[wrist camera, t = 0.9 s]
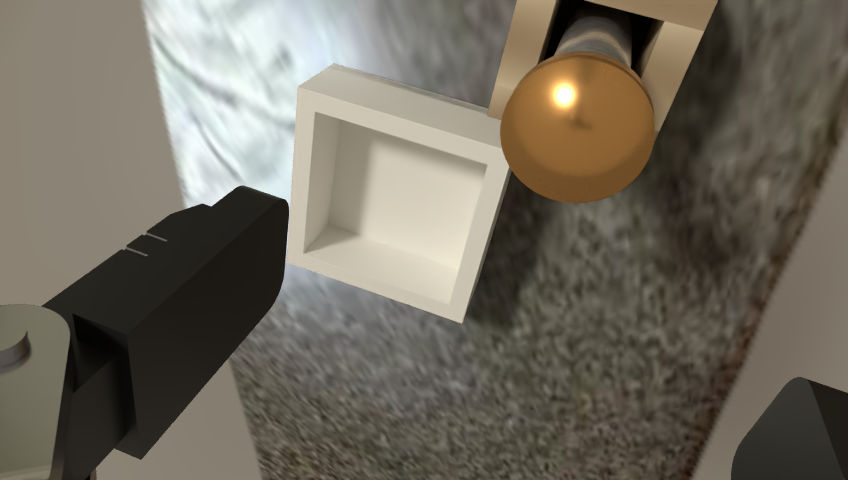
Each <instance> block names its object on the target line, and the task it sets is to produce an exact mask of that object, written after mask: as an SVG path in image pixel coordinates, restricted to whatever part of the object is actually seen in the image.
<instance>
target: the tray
mask: <svg viewBox="0 0 848 480" xmlns="http://www.w3.org/2000/svg"><path fill="white" fill-rule="evenodd" d="M488 110H489V109H488V108H485V107H481V106H478V105H474V104H471V103H468V102H464V101H461V100H457V99H454V98H451V97H447V96H444V95H440V94H437V93H434V92H430V91H427V90H423V89H420V88H417V87H413V86H410V85H406V84H403V83H400V82H396V81H393V80H389V79H386V78H383V77H379V76H376V75H372V74H369V73H366V72H362V71H359V70H355V69H352V68H349V67H345V66H342V65H338V64H335V63H334V64H332V65H331V66H329V67H328V68H326V69H324V70H323V71H321V72H320V73H318V74H317V75H315V76H314V77H312V78H311V79H309V80H307V81H306V82H304V83H303V84H301V85H300V86H298V92H297V108H296V124H295V140H294V155H293V171H292V187H291V203H290V219H289V235H288V250H287V262H288V263H291V264H294V265H297V266H299V267H302V268H305V269H308V270H311V271H314V272H317V273H319V274H322V275H325V276H328V277H331V278H334V279H337V280H339V281H342V282H345V283H348V284H351V285H354V286H357V287H359V288H362V289H365V290H368V291H371V292H374V293H376V294H379V295H382V296H385V297H388V298H391V299H394V300H396V301H399V302H402V303H405V304H408V305H411V306H414V307H416V308H419V309H422V310H425V311H428V312H431V313H434V314H436V315H439V316H442V317H445V318H448V319H451V320H454V321H456V322H459V323H462V322H463V319H464V317H465V314H466V312H467V309H468V306H469V304H470V301H471V299H472V296H473V293H474V291H475V288H476V286H477V283H478V280H479V277H480V274H481V271H482V267H483V264H484V261H485V257H486V254H487V251H488V248H489V244H490V241H491V238H492V235H493V231H494V228H495V225H496V221H497V218H498V215H499V212H500V208H501V205H502V202H503V199H504V195H505V192H506V189H507V185H508V182H509V179H510V176H511V172H512V170H511V168H510V167H509V165H508V163H507V161H506V159H505V156H504V154H503V151H502V146H501V140H500V125H501V120H499V119H495V118H492V117H488V116H487V114H488Z"/></svg>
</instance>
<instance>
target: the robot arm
mask: <svg viewBox="0 0 848 480" xmlns="http://www.w3.org/2000/svg"><path fill="white" fill-rule="evenodd" d="M288 220H289V206H288V203H287V201H286V200H285V199H282V198H279V197H276V196H273V195H270V194H267V193H264V192H261V191H258V190H255V189H252V188H249V187H246V186H239V187H237V188H235V189H234V190H233V191H231V192H230V193H229V194H227V195H226V196H225V197H223V198H222V199H221V200H219V201H218V202H217V203H216V204H214V205H213V206H212V207H211V206H208V205H205V204H200V205H197V206H194V207H191V208H188V209H185V210H182V211H179V212H176V213H173V214H170V215H169V216H167V217H166V218H165V219H163V220H162V221H161V222H159V223H158V224H156V225H155V226H153V227H152V228H150V229H149V230H148V231H147V233H146V235H145V236H144V235H141V236H139V237H138V238H137V239H135V240H134V241H132V242H131V243H129V244H128V245H127V247H126V249H125V250H120V251H118V252H117V253H115V254H114V255H113V256H111V257H110V258H108V259H107V260H106V261H104V262H103V263H101V264H100V265H99V266H97V267H96V268H94V269H93V270H92V271H90V272H89V273H88V274H86V275H85V276H83V277H82V278H80V279H79V280H78V281H76V282H75V283H73V284H72V285H70V286H69V287H68V288H66V289H65V290H63V291H62V292H61V293H59V294H58V295H57V296H55V297H54V298H52V299H51V300H49V301H48V302H47V303H45V304H44V305H42V306H35V305H28V304H8V305H0V480H96V479H97V478H96V467H97V466H98V465H99V464H100V463H101V462H102V460H103V459H104V458H105V457H106V456H107V455H108V454H109V453H110V452H111V451H112V450H113V449H114V448H115V449H117V450H119V451H122V452H124V453H127V454H129V455H131V456H133V457H136V458H138V459H140V460H141V459H142V458H143V457H144V456H145V455H146V454H147V452H148V451H149V450H150V449H151V447H153V445H154V444H155V443H156V442H157V441H158V440H159V438H160V437H161V436H162V435H163V434H164V433H165V431H166V430H167V429H168V428H169V427H170V425H171V424H172V423H173V422H174V421H175V420H176V419H177V417H178V416H179V415H180V414H181V413H182V412H183V410H184V409H185V408H186V407H187V406H188V404H189V403H190V402H191V401H192V400H193V399H194V397H195V396H196V395H197V394H198V393H199V392H200V390H201V389H202V388H203V387H204V385H205V384H206V383H207V382H208V381H209V380H210V379H211V378H212V376H213V375H214V374H215V373H216V372H217V371H218V369H219V368H220V367H221V366H222V365H223V363H224V362H225V361H226V360H227V359H228V358H229V357H230V355H231V354H232V353H233V352H234V351H235V350H236V348H237V347H238V346H239V345H240V344H241V343H242V341H243V340H244V339H245V338H246V337H247V335H248V334H249V333H250V332H251V331H252V330H253V328H254V327H255V326H256V325H257V324H258V323H259V321H260V320H261V319H262V318H263V317H264V316H265V314H266V313H267V312H268V311H269V310H270V308H271V307H272V305H273V304H274V302H275V300H276V298H277V296H278V294H279V292H280V289H281V286H282V282H283V278H284V270H285V257H286V245H287V232H288ZM731 480H848V393H846V392H843V391H840V390H837V389H834V388H831V387H829V386H826V385H823V384H819V383H817V382H814V381H811V380H808V379H805V378H802V377H797V378H794V379H792V380H790V381H789V382H788V383H787V384H786V385H785V386H784V387H783V389H782V390H781V391H780V392H779V394H778V395H777V396H776V398H775V399H774V400H773V401H772V403H771V404H770V405H769V407H768V408H767V409H766V410H765V412H764V413H763V414H762V416H761V417H760V418H759V419H758V421H757V422H756V423H755V425H754V426H753V427H752V428H751V430H750V431H749V432H748V433H747V435H746V436H745V437H744V439H743V440H742V441H741V443H740V444H739V446H738V449H737V451H736V453H735V456H734V460H733V464H732V471H731Z"/></svg>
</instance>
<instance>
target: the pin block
mask: <svg viewBox="0 0 848 480" xmlns="http://www.w3.org/2000/svg"><path fill="white" fill-rule="evenodd" d="M561 1H562V0H517V3H516V7H515V11H514V15H513V19H512V22H511V26H510V30H509V34H508V38H507V41H506V45H505V49H504V53H503V57H502V61H501V64H500V68H499V72H498V76H497V80H496V83H495V87H494V91H493V95H492V99H491V103H490V106H489V110H488V114H487V116H488V117H492V118H495V119H499V120H501V119H502V115H503V112H504V109H505V106H506V104H507V102H508V100H509V98H510V97H511V95H512V93H513V91H514V89H515V88H516V86H517V85H518V83H519V82H520V80H521V79H522V78H523V77H524V76H525V75H526V74H527V73H528V72H529V71H530V70H531V69H532V68H533V67H535V66H536V65H538V64H539V63H541V62H542V61H543V60H544V57H545V54H546V51H547V47H548V44H549V41H550V37H551V34H552V31H553V27H554V24H555V21H556V18H557V14H558V11H559V8H560V4H561ZM586 1H589V2H593V3H597V4H601V5H605V6H609V7H612V8H616V9H620V10H624V11H628V12H632V13H635V14H639V15H643V16H647V17H651V18H654V19H653V21H652V24H651V26H650V29H649V32H648V34H647V37H646V39H645V42H644V44H643V47H642V49H641V52H640V54H639V57H638V59H637V62H636V64H635V67H634V70H633V71H634V72H635V73H636V74H637V75H638V76H639V78H640V79H641V80H642V81H643V83H644V85H645V86H646V88H647V90H648V92H649V95H650V97H651V100H652V104H653V108H654V121H655V139H654V142H655V140H656V138H657V135H658V133H659V131H660V129H661V127H662V124H663V122H664V120H665V118H666V115H667V113H668V111H669V109H670V106H671V104H672V102H673V100H674V98H675V95H676V93H677V91H678V89H679V86H680V84H681V82H682V80H683V77H684V75H685V73H686V71H687V69H688V66H689V64H690V62H691V60H692V57H693V55H694V53H695V51H696V48H697V46H698V44H699V42H700V40H701V37H702V35H703V33H704V31H705V28H706V26H707V24H708V22H709V19H710V17H711V15H712V13H713V11H714V8H715V6H716V4H717V2H718V0H586Z"/></svg>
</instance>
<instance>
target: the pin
mask: <svg viewBox="0 0 848 480" xmlns="http://www.w3.org/2000/svg"><path fill="white" fill-rule="evenodd" d="M631 48H632V25H631V21H630V18H629V16H628V15H627V13H626V12H625V11H624V10H620V9H616V8H612V7H609V6H605V5H601V4H597V3H593V2H591V3H588V4H586V5H584V6H582V7H581V8H580V9H578V10H577V11H576V12H575V13H574V14H573V16H572V17H571V19H570V21H569V23H568V25H567V27H566V30H565V32H564V34H563V36H562V39H561V41H560V43H559V45H558V48H557V50H556V52H555V54H554V56H553V57H551V58H548V59H546V60H544V61H542V62H541V63H539V64H538V65H536V66H535V67H533V68H532V69H531V70H530V71H529V72H528V73H527V74H526V75H525V76H524V77H523V78H522V79H521V80H520V82H519V83H518V85H517V86H516V88H515V89H514V91H513V93H512V95H511V97H510V98H509V100H508V102H507V104H506V106H505V109H504V112H503V115H502V119H501V125H500V140H501V146H502V151H503V154H504V156H505V159H506V161H507V163H508V165H509V167H510V168H511V170H512V171H513V173H514V174H515V175H516V176H517V178H518V179H519V180H520V181H521V182H522V183H523V184H525V185H526V186H527V187H528V188H530V189H531V190H533V191H534V192H536V193H538V194H540V195H542V196H544V197H547V198H549V199H552V200H556V201H560V202H567V203H586V202H592V201H597V200H601V199H603V198H606V197H609V196H611V195H613V194H615V193H617V192H619V191H620V190H622V189H623V188H625V187H626V186H627V185H629V184H630V183H631V182H632V181H633V180H634V179H635V178H636V177H637V176H638V175H639V174H640V172H641V171H642V170H643V168H644V167H645V165H646V163H647V161H648V159H649V157H650V154H651V152H652V149H653V144H654V139H655V121H654V108H653V104H652V100H651V97H650V95H649V92H648V90H647V88H646V86H645V85H644V83H643V81H642V80H641V79H640V78H639V76H638V75H637V74H636V73H635V72H634V71H633V70H632V69H631Z"/></svg>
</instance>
